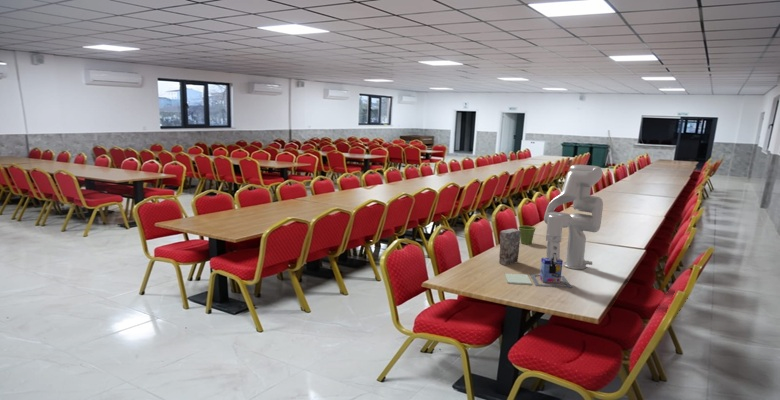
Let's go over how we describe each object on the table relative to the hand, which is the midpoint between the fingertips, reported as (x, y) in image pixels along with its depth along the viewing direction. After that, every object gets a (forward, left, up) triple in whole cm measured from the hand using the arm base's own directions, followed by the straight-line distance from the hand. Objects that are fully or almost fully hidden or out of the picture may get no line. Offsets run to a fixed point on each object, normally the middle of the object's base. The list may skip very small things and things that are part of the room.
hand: (550, 270), depth 252 cm
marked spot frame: (0, 0, -6) cm, 6 cm away
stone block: (+18, -30, -6) cm, 35 cm away
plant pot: (0, -80, -6) cm, 80 cm away
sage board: (+17, +1, -6) cm, 18 cm away
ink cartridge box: (0, 0, -6) cm, 6 cm away
